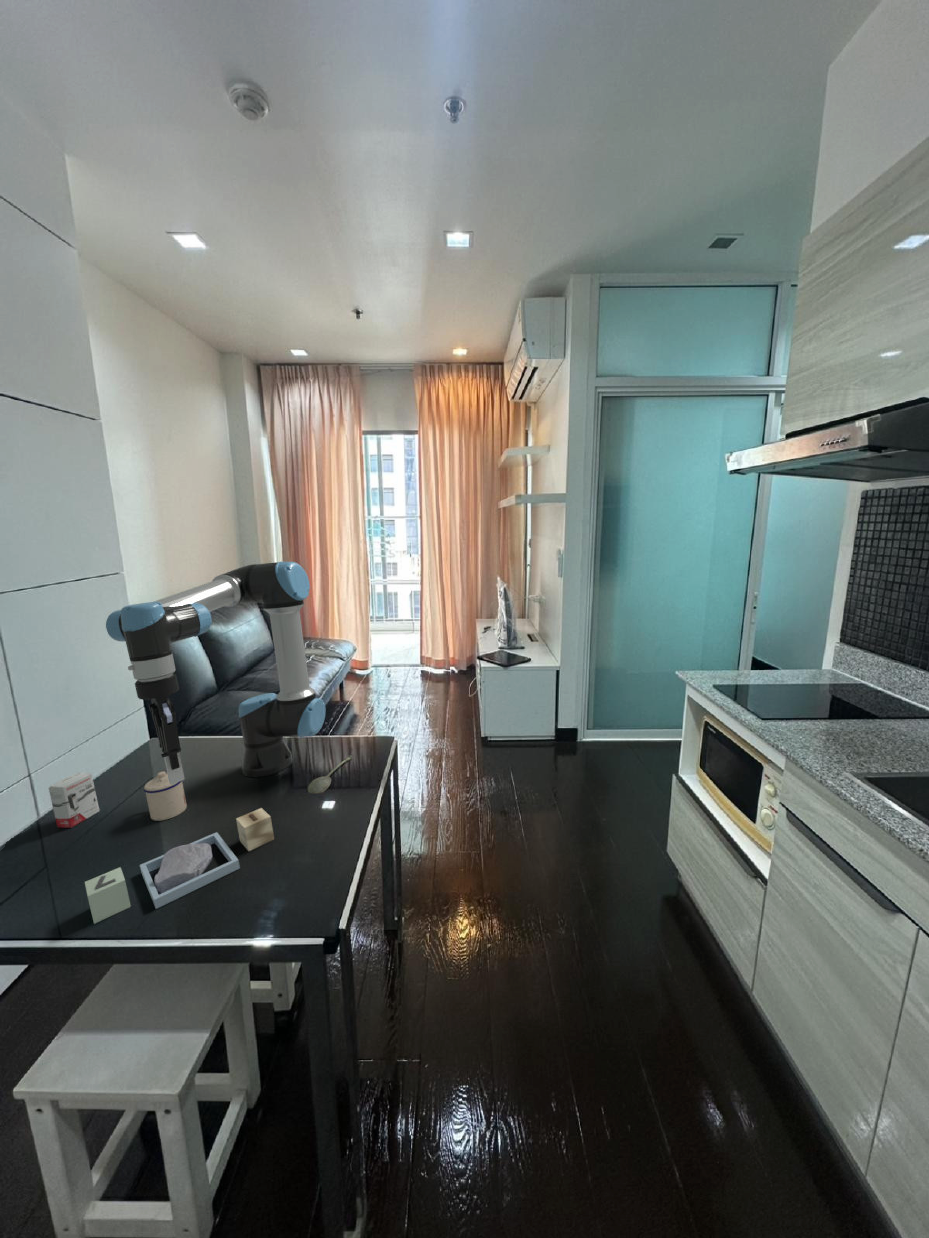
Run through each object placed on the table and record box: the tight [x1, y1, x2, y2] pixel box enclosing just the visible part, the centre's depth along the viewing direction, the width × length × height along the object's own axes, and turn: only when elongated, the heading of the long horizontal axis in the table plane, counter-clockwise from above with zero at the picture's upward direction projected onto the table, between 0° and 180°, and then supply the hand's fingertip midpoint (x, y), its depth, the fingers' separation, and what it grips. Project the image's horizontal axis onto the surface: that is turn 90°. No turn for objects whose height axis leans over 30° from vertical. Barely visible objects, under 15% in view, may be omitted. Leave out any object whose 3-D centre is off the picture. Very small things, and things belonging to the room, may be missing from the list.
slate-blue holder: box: [139, 831, 241, 910], centre depth 108 cm, size 16×16×2 cm
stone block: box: [153, 843, 213, 895], centre depth 107 cm, size 12×5×10 cm
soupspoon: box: [306, 755, 353, 794], centre depth 148 cm, size 22×3×7 cm
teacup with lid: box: [143, 771, 188, 822], centre depth 134 cm, size 12×9×12 cm
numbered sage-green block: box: [84, 866, 132, 925], centre depth 98 cm, size 6×6×6 cm
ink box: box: [48, 772, 101, 829], centre depth 134 cm, size 9×5×12 cm, turn 168°
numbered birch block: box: [235, 807, 275, 852], centre depth 117 cm, size 6×6×6 cm
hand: (176, 780), depth 106 cm, fingers closed
